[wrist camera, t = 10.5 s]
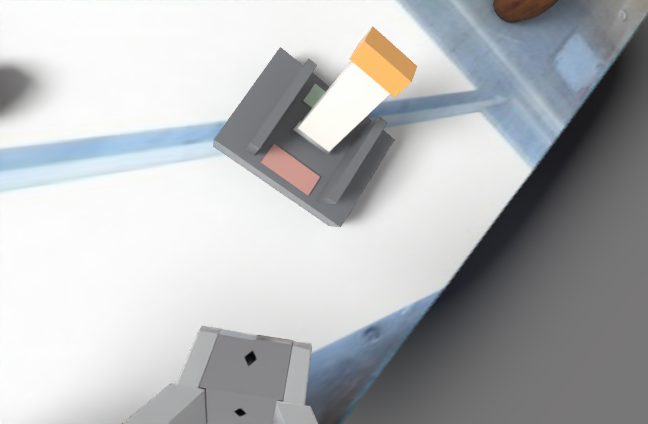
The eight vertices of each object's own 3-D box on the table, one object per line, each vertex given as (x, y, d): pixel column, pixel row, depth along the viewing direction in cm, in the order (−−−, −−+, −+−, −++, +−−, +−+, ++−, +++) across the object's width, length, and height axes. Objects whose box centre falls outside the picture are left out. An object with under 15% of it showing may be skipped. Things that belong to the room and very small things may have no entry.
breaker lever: (325, 161, 39) (411, 82, 29) (288, 134, 38) (364, 41, 28) (332, 147, 41) (417, 66, 31) (296, 119, 40) (372, 26, 29)
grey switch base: (328, 225, 45) (354, 228, 37) (213, 146, 41) (215, 131, 33) (379, 145, 47) (413, 132, 39) (273, 61, 43) (288, 29, 35)
